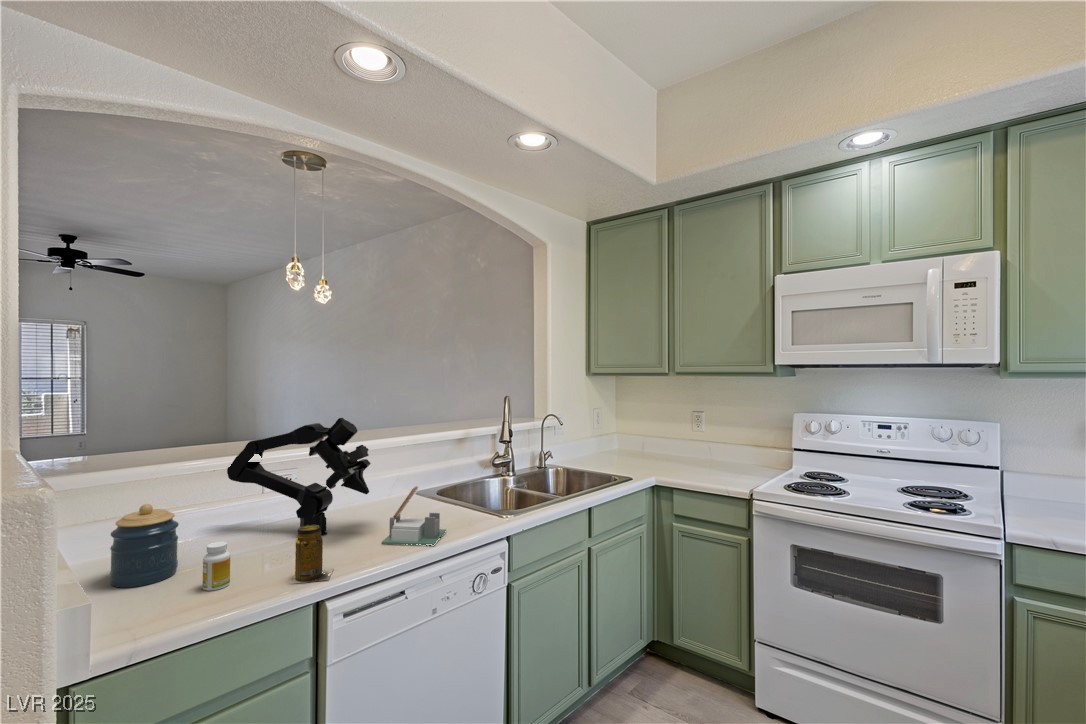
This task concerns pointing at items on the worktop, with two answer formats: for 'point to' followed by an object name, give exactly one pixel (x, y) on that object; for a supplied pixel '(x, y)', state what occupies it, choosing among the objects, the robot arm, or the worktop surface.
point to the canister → (144, 548)
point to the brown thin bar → (405, 502)
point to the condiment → (309, 555)
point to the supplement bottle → (216, 567)
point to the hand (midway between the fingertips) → (367, 493)
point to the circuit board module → (415, 530)
